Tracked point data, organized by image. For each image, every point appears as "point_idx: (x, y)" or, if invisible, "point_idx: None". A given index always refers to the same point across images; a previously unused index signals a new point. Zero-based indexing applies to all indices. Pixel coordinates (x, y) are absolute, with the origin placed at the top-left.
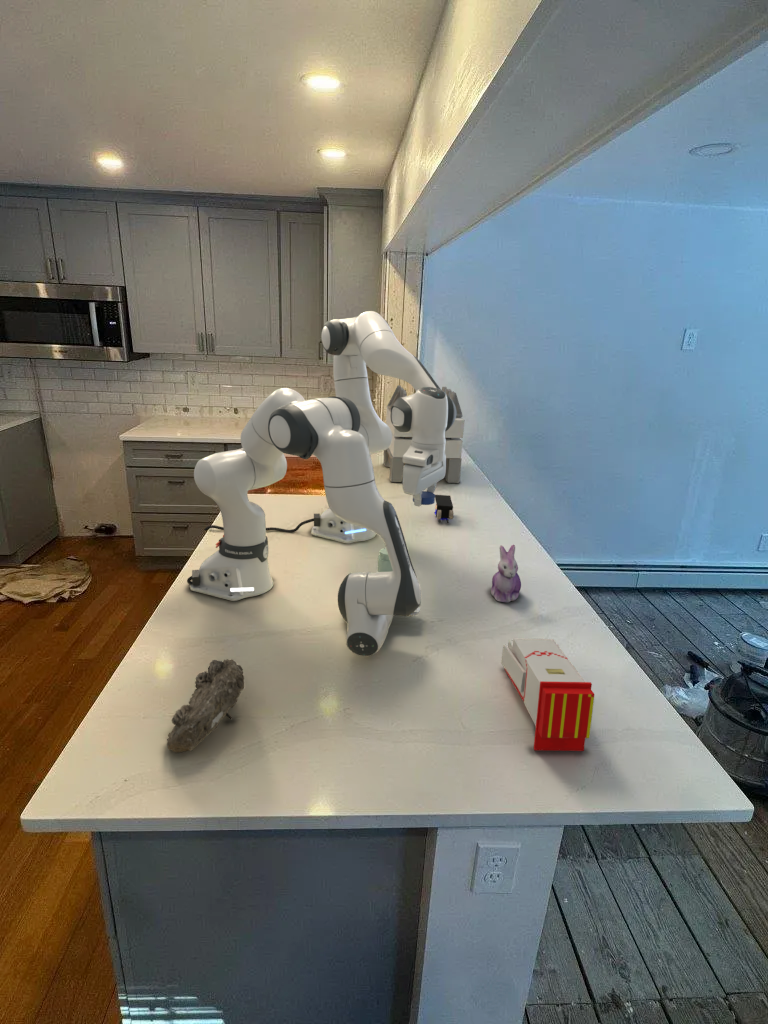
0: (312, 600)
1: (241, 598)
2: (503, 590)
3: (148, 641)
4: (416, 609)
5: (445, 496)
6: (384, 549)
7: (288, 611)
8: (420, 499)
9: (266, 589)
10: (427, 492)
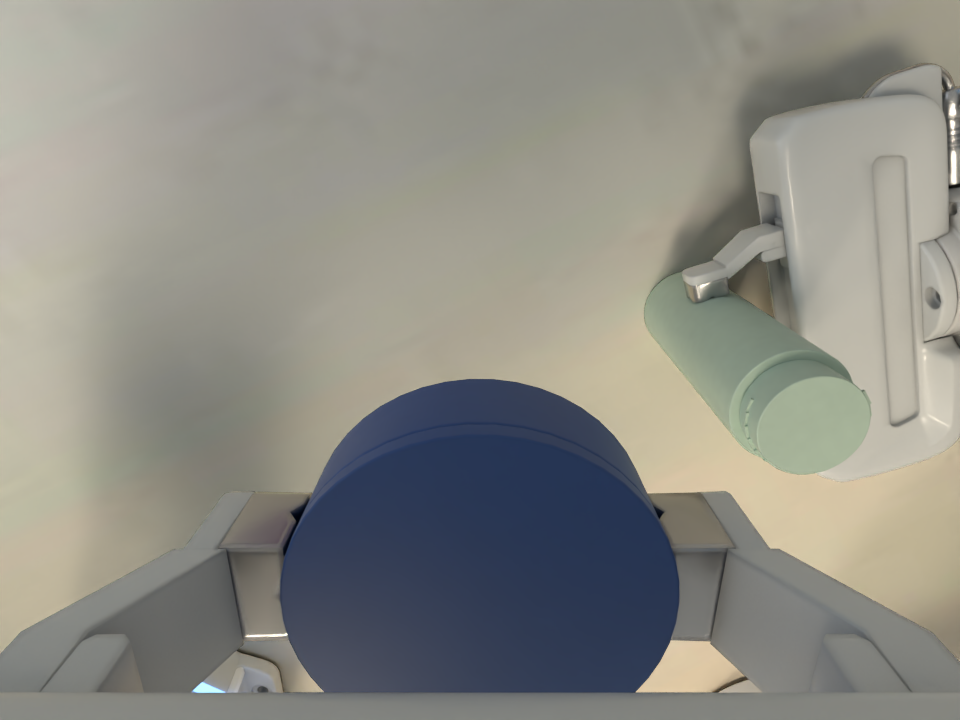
0: (775, 539)
1: None
2: None
3: None
4: (914, 85)
5: None
6: (794, 456)
7: (881, 560)
8: (793, 561)
9: None
10: (336, 611)
